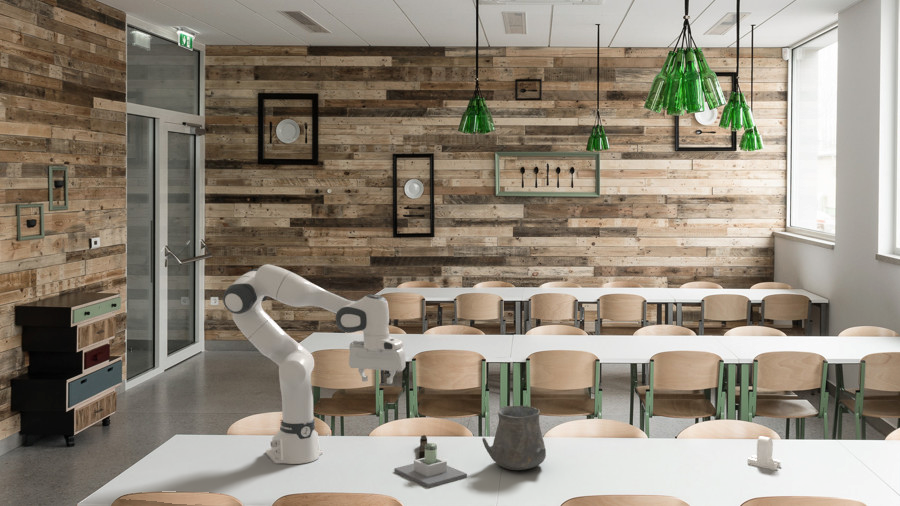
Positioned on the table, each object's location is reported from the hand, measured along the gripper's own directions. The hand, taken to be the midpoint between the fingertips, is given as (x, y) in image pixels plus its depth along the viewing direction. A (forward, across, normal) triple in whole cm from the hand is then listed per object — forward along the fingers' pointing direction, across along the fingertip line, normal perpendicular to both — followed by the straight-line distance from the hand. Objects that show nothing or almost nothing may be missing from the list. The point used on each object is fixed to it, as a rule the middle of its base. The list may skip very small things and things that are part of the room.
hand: (377, 382), depth 279 cm
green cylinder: (+30, +18, +3) cm, 35 cm away
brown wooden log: (+32, +6, +24) cm, 40 cm away
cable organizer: (+32, +124, +52) cm, 138 cm away
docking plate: (+31, +18, +3) cm, 36 cm away
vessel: (+31, +44, +22) cm, 59 cm away
